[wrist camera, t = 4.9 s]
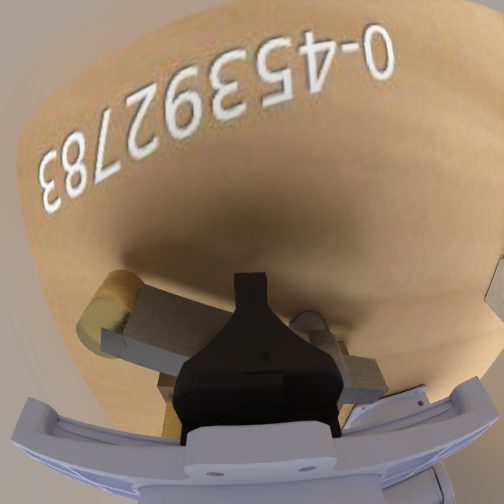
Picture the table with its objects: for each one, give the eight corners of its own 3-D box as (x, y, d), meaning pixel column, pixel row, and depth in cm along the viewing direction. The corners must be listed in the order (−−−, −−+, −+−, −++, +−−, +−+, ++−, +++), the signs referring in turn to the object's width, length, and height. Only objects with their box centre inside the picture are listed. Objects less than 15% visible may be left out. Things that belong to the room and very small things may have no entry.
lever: (107, 261, 12) (75, 307, 9) (374, 341, 16) (395, 384, 12) (103, 300, 13) (77, 347, 10) (351, 367, 17) (367, 409, 13)
